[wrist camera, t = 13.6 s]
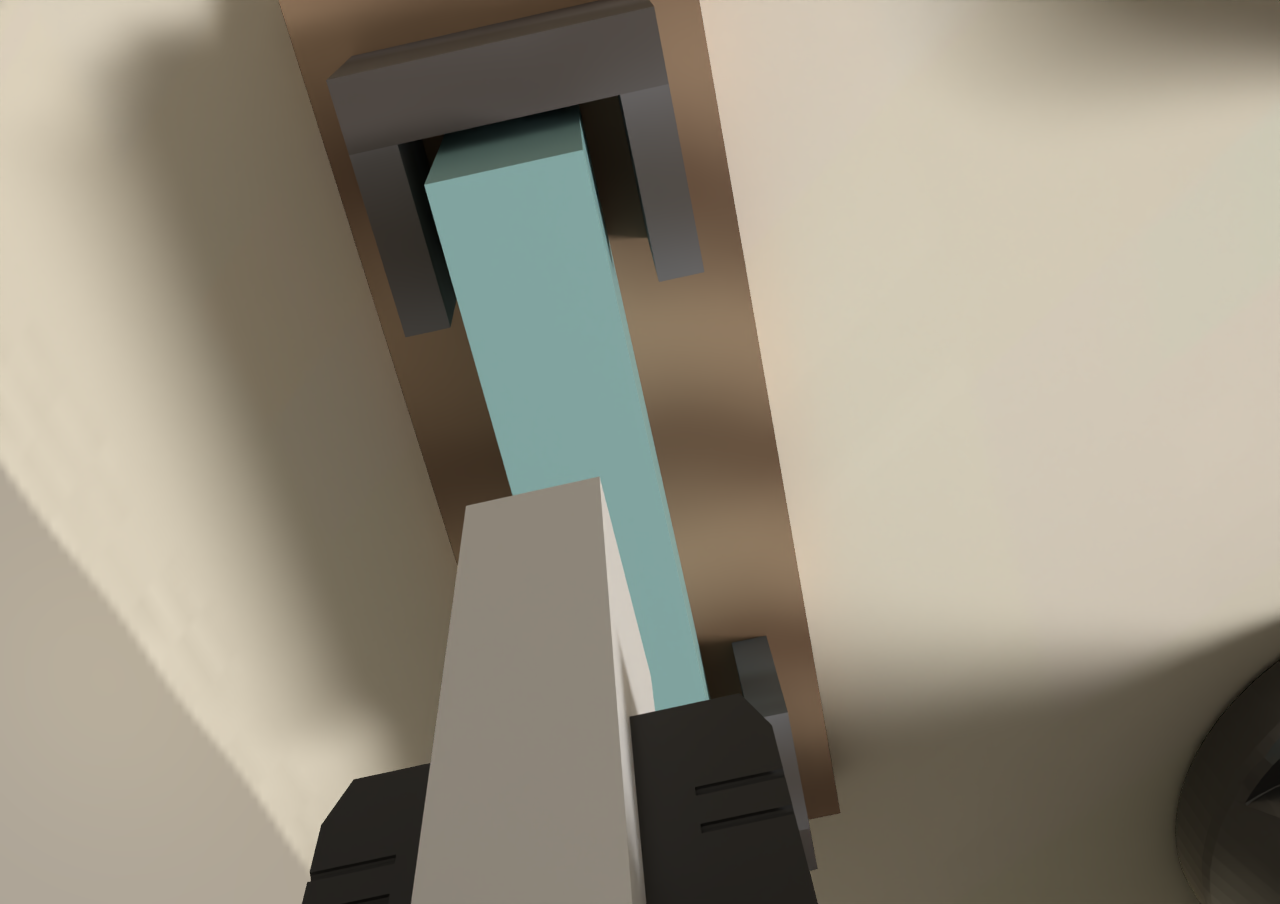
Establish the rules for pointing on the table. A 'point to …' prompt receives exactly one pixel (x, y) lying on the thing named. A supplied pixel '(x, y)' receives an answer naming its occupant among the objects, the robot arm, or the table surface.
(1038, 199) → the table surface
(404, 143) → the frame
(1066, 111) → the table surface
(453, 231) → the slat
